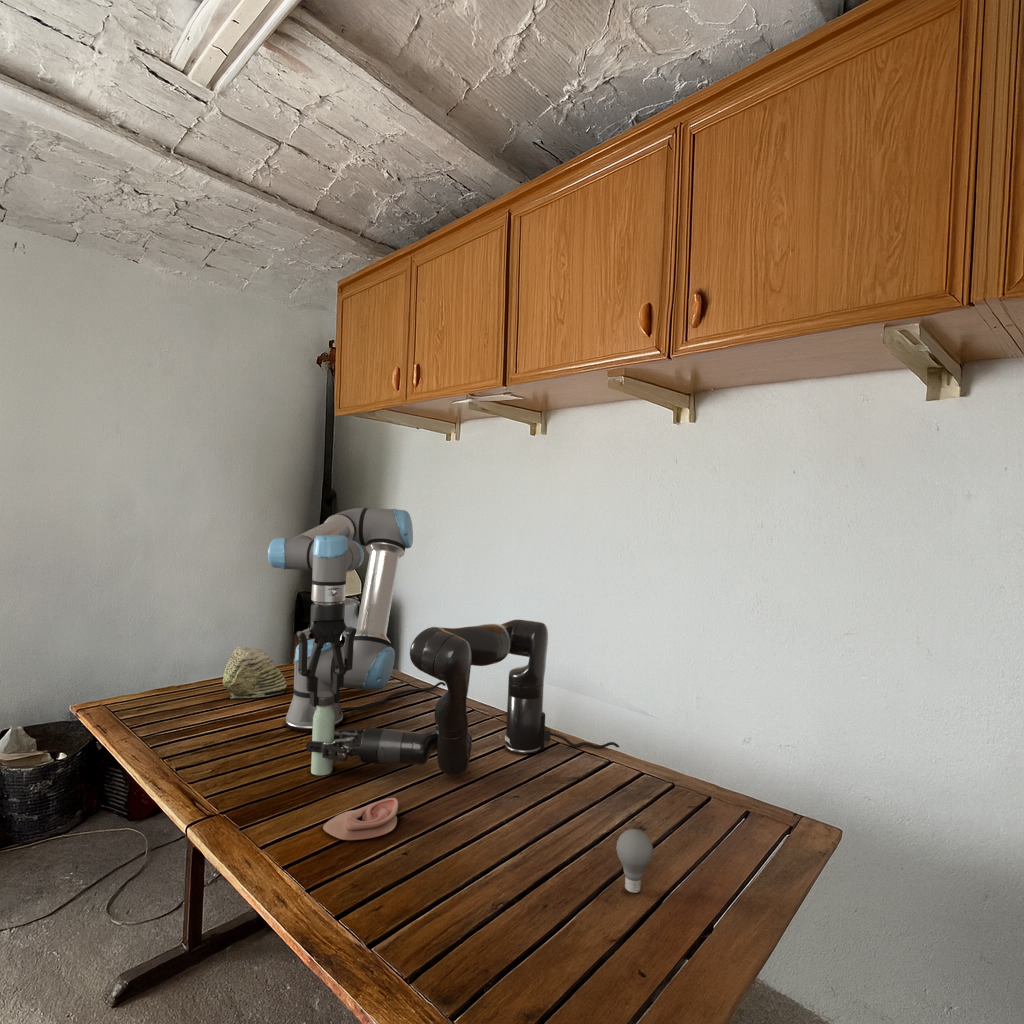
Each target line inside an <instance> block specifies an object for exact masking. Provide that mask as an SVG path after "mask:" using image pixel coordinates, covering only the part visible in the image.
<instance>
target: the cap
mask: <svg viewBox="0 0 1024 1024" xmlns="http://www.w3.org/2000/svg"><path fill="white" fill-rule="evenodd" d="M334 703H335V693H334V692H331V691H322V692H317V706H330V705H333V704H334Z"/></svg>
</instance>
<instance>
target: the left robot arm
mask: <svg viewBox="0 0 1024 1024" xmlns="http://www.w3.org/2000/svg"><path fill="white" fill-rule="evenodd" d="M413 542H414V530H413V521H412V517H411V515H410V513H409V512H408V511H407V510H406V509H405V510H404V509H397V508H374V507H373V508H372V507H356V508H355V507H354V508H350V509H347V510H343V511H340V512H337V513H335V514H332V515H330V516H328V517H327V519H326V520H325V521H324V522H323V523H322V524H320V525H317V526H315V527H313V528H311V529H308V530H307V531H305V532H302V533H300V534H298V535H296V536H294V537H292V538H291V537H290V538H289V537H275V538H273V539H272V540H271V541H270V543H269V545H268V548H267V560H268V563H269V565H270V566H271V567H272V568H274V569H283V570H296V571H297V570H298V571H312V575H311V576H312V581H311V597H310V600H311V601H312V603H311V605H310V623H309V625H308V627H307V628H306V629H303V630H302V631H301V630H298V631H296V637H297V640H298V644H297V645H296V647H295V654H294V659H293V661H294V670H293V671H294V672H293V695H292V696H293V697H292V699H291V702H290V704H289V708H288V711H287V713H286V715H285V726H286V728H287V729H289V730H291V731H294V732H295V731H296V732H301V733H313V716H314V713H315V711H316V708H317V692H322V691H331V692H334V693H335V703H334V704H333V705H332V708H333V712H334V716H335V724H334V729H335V728H337V727H339V726H340V725H342V723H343V722H344V714H343V711H344V712H345V711H357V710H364V709H369V708H373V707H377V706H380V705H382V704H384V703H385V702H387V700H389V699H390V698H391V699H392V698H393V697H395V696H399V695H403V694H409V693H415V692H424V691H432V690H434V689H436V688H438V687H439V686H441V685H442V686H445V687H447V685H446V683H445V682H444V681H438V682H437V683H436V684H434V685H433V686H430V687H422V688H421V687H420V688H411V689H406V690H400V691H397V692H394V693H391V694H389V695H387V696H386V697H384V698H383V699H382V700H380V701H377V702H374V703H371V704H366V705H360V706H350V707H349V706H348V707H347V706H346V707H342V706H341V702H340V696H341V695H340V691H341V689H355V690H356V689H357V690H365V691H370V690H382V689H383V688H385V686H387V684H388V683H389V681H390V678H391V677H392V673H393V671H394V666H395V657H396V653H395V651H396V650H395V649H394V648H393V647H392V646H391V641H390V639H389V638H388V637H387V633H388V627H389V621H390V620H389V619H390V614H391V608H392V603H393V602H392V601H393V597H394V590H395V584H396V577H397V571H398V565H399V559H401V558H403V557H404V556H405V553H406V549H410V548H412V547H413V544H414V543H413ZM362 546H364V547H365V550H366V552H367V553H368V554H369V558H368V563H367V568H366V573H365V580H364V585H363V589H362V596H361V600H360V601H361V602H360V605H359V612H358V616H357V623H356V628H355V627H354V626H348V625H347V624H346V622H345V619H346V618H345V617H346V604H345V603H344V602H345V601H346V590H347V573H349V572H352V571H354V570H356V569H358V568H359V567H360V566H361V565H362V563H363V562H364V559H365V551H364V548H363V547H362ZM343 633H344V644H341V639H340V637H341V636H342V635H343ZM310 635H311V636H312V639H310Z"/></svg>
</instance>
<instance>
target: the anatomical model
mask: <svg viewBox="0 0 1024 1024" xmlns="http://www.w3.org/2000/svg"><path fill="white" fill-rule="evenodd" d="M398 809H399V801H398V799H397V798H396V797H389V798H388V797H387V798H383V799H381V800H378V801H375V802H372V803H369V804H367V805H365V806H363V807H360V808H357V809H353V810H352V809H351V810H348V811H344V812H341V813H340V814H337V815H336V816H333V818H330V819H329V820H328V821H327V822H325V823H324V824H323V826H322V830H323V831H324V832H325V833H326V834H329V835H330V836H332V837H334V838H337V839H339V840H342V841H358V840H359V841H360V840H366V839H373V838H377V837H380V836H383V835H386V834H388V833H390V832H392V831H393V830H394V829H395V828H396V826H397V824H398V817H397V813H398Z"/></svg>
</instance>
